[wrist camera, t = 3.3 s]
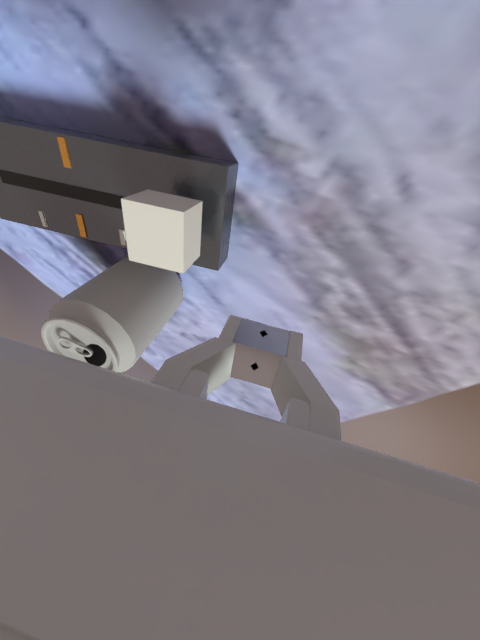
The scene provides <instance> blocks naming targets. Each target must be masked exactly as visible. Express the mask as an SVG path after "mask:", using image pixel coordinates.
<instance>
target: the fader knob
mask: <svg viewBox="0 0 480 640" xmlns="http://www.w3.org/2000/svg"><path fill="white" fill-rule="evenodd" d="M202 203H203V201H200V200H196V199H191V198H186V197H182V196H177V195H172V194H167V193H163V192H158V191H153V190H149V189H148V190H145V191H142V192H139V193H136V194H133V195H130V196H127V197H124V198H121V204H122V212H123V219H124V227H125V234H126V242H127V250H128V257H129V260H130V261H134V262H138V263H142V264H146V265H150V266H154V267H158V268H162V269H167V270H171V271H175V272H179V273H184V272H185V271H186V270H187V269H188V268H189V267H190V266H191V265H192V264H193V263H194V262H195V261H196V260H197V259H198V257H199V256H200V245H201V224H202Z"/></svg>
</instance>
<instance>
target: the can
mask: <svg viewBox="0 0 480 640" xmlns="http://www.w3.org/2000/svg"><path fill="white" fill-rule="evenodd" d="M182 300H183V287H182V283H181V280H180V278H179V277H178V275H177V273H176V272H175V271H171V270H167V269H162V268H158V267H154V266H150V265H146V264H142V263H138V262H134V261H130V260H129V257H128V256H126V257H125V258H123V259H122V260H120V261H119V262H117V263H116V264H114V265H113V266H111V267H110V268H108V269H107V270H105V271H104V272H102V273H100V274H99V275H97V276H96V277H94V278H93V279H91V280H90V281H88V282H87V283H85V284H84V285H82V286H81V287H79V288H77V289H76V290H74V291H73V292H71V293H70V294H68V295H67V296H65V297H64V298H62V299H61V300H59V301H58V302H56V303H55V304H54V305H53V306H52V308H51V309H50V311H49V319H48V320H46V321H45V322H44V324H43V325H42V327H41V337H42V339H43V342H44V344H45V346H46V347H47V349H48V350H49V351H50V352H53V353H56V354H60V355H63V356H66V357H69V358H73V359H76V360H79V361H83V362H86V363H89V364H92V365H96V366H99V367H102V368H105V369H109V370H112V371H115V372H123V371H126V370H128V369H129V368H131V367H132V366H133V365H134V364H135V362H136V361H137V360H138V358H139V357H140V356H141V355H142V353H143V352H144V351H145V350H146V348H147V347H148V346H149V344H150V343H151V342H152V341H153V339H154V338H155V337H156V335H157V334H158V333H159V332H160V330H161V329H162V328H163V327H164V325H165V324H166V323H167V321H168V320H169V319H170V318H171V316H172V315H173V314H174V313H175V311H176V310H177V309H178V307H179V306H180V304H181V302H182Z"/></svg>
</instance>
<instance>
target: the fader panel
mask: <svg viewBox="0 0 480 640" xmlns="http://www.w3.org/2000/svg"><path fill="white" fill-rule="evenodd" d="M237 170H238V163H235V162H230V161H225V160H220V159H215V158H210V157H205V156H199V155H194V154H189V153H184V152H179V151H174V150H169V149H163V148H158V147H153V146H148V145H143V144H138V143H133V142H127V141H122V140H117V139H112V138H107V137H102V136H97V135H92V134H86V133H81V132H76V131H71V130H66V129H61V128H56V127H50V126H45V125H40V124H35V123H30V122H25V121H20V120H14V119H9V118H4V117H0V218H1V219H5V220H9V221H13V222H17V223H21V224H26V225H30V226H34V227H38V228H42V229H46V230H51V231H55V232H59V233H63V234H67V235H71V236H76V237H80V238H84V239H88V240H92V241H96V242H101V243H105V244H109V245H113V246H117V247H121V248H126V249H127V242H126V234H125V227H124V219H123V212H122V204H121V198H124V197H127V196H130V195H133V194H136V193H139V192H142V191H145V190H148V189H149V190H153V191H158V192H163V193H167V194H172V195H177V196H182V197H186V198H191V199H196V200H200V201H203V203H202V224H201V245H200V256H199V257H198V259H197V260H196V261H195V262H194V263H193V264H192V265H196V266H201V267H205V268H209V269H213V270H217V271H218V270H219V269H220V267H221V266H222V264H223V263H224V262H225V260H226V259H227V255H228V247H229V238H230V230H231V221H232V213H233V204H234V196H235V187H236V179H237Z"/></svg>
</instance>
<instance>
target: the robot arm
mask: <svg viewBox="0 0 480 640" xmlns="http://www.w3.org/2000/svg"><path fill="white" fill-rule="evenodd" d="M302 342H303V334H302V333H298V332H294V331H288V330H284V329H280V328H276V327H273V326H269V325H266V324H262V323H259V322H255V321H252V320H248V319H245V318H241V317H238V316H234V315H230V316H229V318H228V320H227V322H226V324H225V326H224V328H223V330H222V332H221V334H220V336H219V338H216V337H215V338H212V339H210V340H208V341H206V342H204V343H202V344H199V345H197V346H195V347H193V348H191V349H188V350H186V351H184V352H182V353H180V354H178V355H175V356H173V357H171V358H169V359H167V360H166V361H165V362H164V364H163V365H162V367H161V368H160V370H159V371H158V372H157V374H156V375H155V377H154V378H153V380H152V381H151V382H148V381H145V380H141V379H138V378H134V377H132V376H128V375H125V374H121V373H118V372H115V371H112V370H109V369H105V368H102V367H99V366H96V365H92V364H89V363H86V362H83V361H79V360H76V359H73V358H69V357H66V356H63V355H60V354H56V353H53V352H50V351H47V350H43V349H40V348H37V347H34V346H30V345H27V344H24V343H20V342H17V341H14V340H11V339H8V338H4V337H1V336H0V640H480V483H477V482H474V481H471V480H468V479H465V478H461V477H458V476H455V475H452V474H448V473H445V472H442V471H439V470H435V469H432V468H429V467H425V466H422V465H419V464H415V463H412V462H409V461H406V460H402V459H399V458H396V457H393V456H390V455H386V454H383V453H380V452H376V451H373V450H370V449H366V448H363V447H360V446H357V445H353V444H350V443H347V442H344V441H341V430H340V416H339V410H338V409H337V407H336V406H335V404H334V403H333V401H332V400H331V399H330V397H329V396H328V394H327V393H326V392H325V390H324V389H323V387H322V386H321V384H320V383H319V382H318V380H317V379H316V377H315V376H314V374H313V373H312V372H311V370H310V369H309V367H308V366H307V365H306V363H305V362H303V361H301V356H302ZM230 377H233V378H236V379H240V380H244V381H248V382H251V383H254V384H257V385H261V386H264V387H267V388H270V389H271V391H272V394H273V396H274V399H275V401H276V404H277V406H278V409H279V411H280V414H281V416H282V418H281V421H280V422H279V421H275V420H272V419H269V418H266V417H262V416H259V415H256V414H252V413H249V412H246V411H243V410H239V409H236V408H233V407H230V406H226V405H223V404H220V403H216V402H213V401H210V400H207V399H206V397H207V395H208V394H209V393H211V392H212V391H213V390H215V389H216V388H217V387H219V386H220V385H221V384H223V383H224V382H225V381H227V380H228V379H229V378H230Z"/></svg>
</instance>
